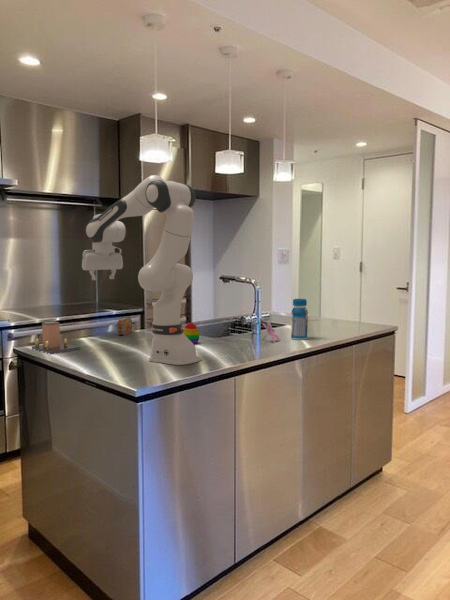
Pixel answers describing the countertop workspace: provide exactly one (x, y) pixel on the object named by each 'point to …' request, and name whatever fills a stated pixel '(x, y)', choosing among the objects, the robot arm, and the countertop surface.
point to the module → (51, 333)
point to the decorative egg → (191, 332)
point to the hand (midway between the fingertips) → (103, 279)
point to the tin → (124, 326)
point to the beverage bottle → (299, 319)
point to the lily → (271, 332)
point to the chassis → (62, 348)
